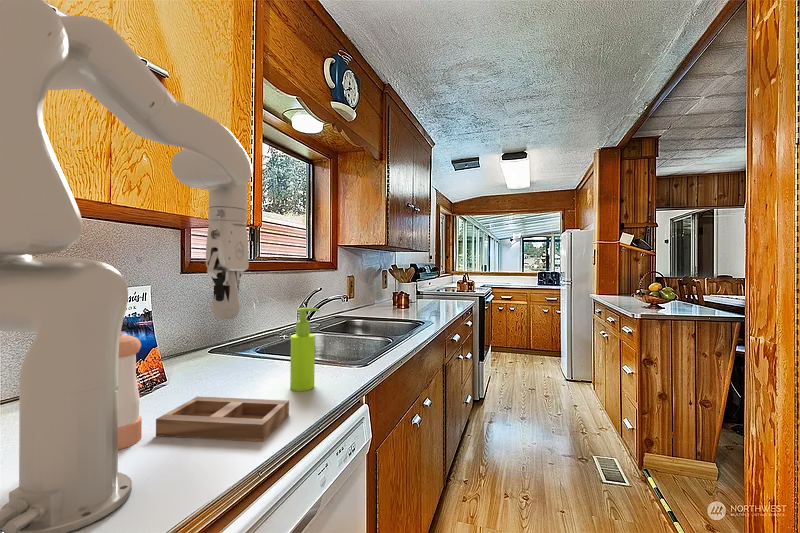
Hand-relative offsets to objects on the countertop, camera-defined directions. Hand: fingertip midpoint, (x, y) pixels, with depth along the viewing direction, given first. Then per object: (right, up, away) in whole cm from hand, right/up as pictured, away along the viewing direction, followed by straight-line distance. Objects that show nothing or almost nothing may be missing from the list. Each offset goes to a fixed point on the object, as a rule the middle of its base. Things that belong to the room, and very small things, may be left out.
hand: (226, 303), depth 83 cm
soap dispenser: (+13, -23, +15) cm, 30 cm away
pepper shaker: (-12, -23, -16) cm, 30 cm away
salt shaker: (0, -4, 0) cm, 4 cm away
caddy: (+4, -23, -8) cm, 24 cm away
